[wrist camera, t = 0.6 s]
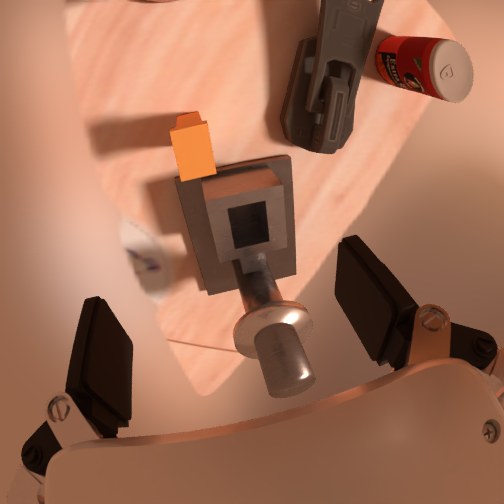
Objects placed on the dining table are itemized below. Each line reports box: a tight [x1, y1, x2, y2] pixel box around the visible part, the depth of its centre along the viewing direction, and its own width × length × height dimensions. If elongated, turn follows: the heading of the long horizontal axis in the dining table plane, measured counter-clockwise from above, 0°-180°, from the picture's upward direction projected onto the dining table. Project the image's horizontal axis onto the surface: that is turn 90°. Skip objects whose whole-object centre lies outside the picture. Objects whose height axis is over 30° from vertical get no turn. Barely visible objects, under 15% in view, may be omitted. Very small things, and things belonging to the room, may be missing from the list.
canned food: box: [376, 36, 474, 103], centre depth 24 cm, size 8×8×11 cm
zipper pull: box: [280, 0, 384, 154], centre depth 25 cm, size 9×7×25 cm
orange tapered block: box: [170, 112, 217, 182], centre depth 26 cm, size 4×3×10 cm
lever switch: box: [175, 155, 316, 398], centre depth 31 cm, size 19×14×21 cm
